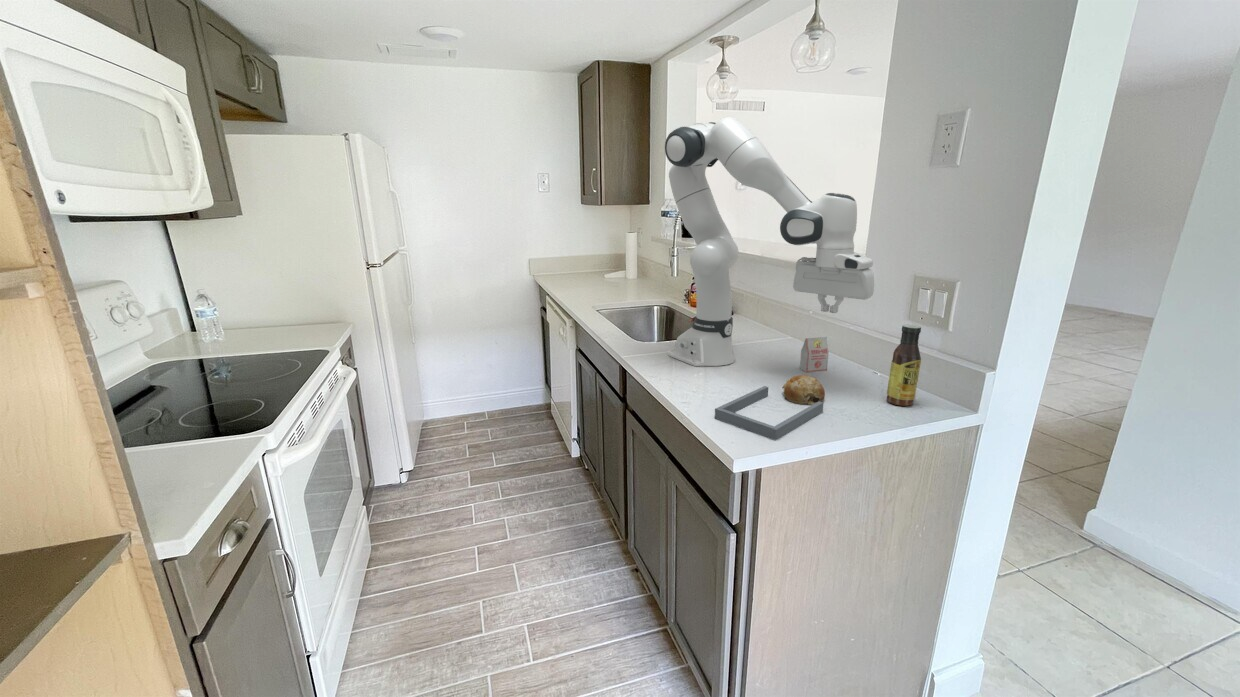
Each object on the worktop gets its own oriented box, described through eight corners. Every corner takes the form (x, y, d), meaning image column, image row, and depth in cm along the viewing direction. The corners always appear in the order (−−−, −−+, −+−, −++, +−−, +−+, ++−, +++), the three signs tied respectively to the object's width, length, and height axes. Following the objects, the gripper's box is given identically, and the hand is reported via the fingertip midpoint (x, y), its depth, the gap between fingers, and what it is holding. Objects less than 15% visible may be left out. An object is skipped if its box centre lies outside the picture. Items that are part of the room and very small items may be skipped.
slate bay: (714, 418, 122) (715, 408, 122) (764, 394, 136) (764, 385, 135) (775, 440, 111) (776, 429, 110) (822, 412, 124) (823, 402, 123)
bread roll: (794, 418, 129) (806, 397, 124) (771, 391, 136) (781, 369, 131) (824, 411, 133) (837, 390, 128) (800, 384, 140) (811, 363, 135)
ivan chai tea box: (799, 368, 155) (802, 336, 153) (820, 366, 157) (823, 335, 154) (806, 372, 152) (808, 340, 149) (826, 370, 153) (829, 338, 150)
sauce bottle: (902, 409, 124) (913, 330, 119) (880, 400, 130) (889, 325, 124) (920, 404, 127) (932, 327, 121) (897, 395, 132) (907, 321, 127)
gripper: (790, 257, 136) (787, 308, 140) (868, 263, 121) (862, 319, 125) (802, 255, 140) (799, 304, 144) (879, 260, 125) (873, 315, 129)
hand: (829, 311), depth 134 cm, fingers closed
